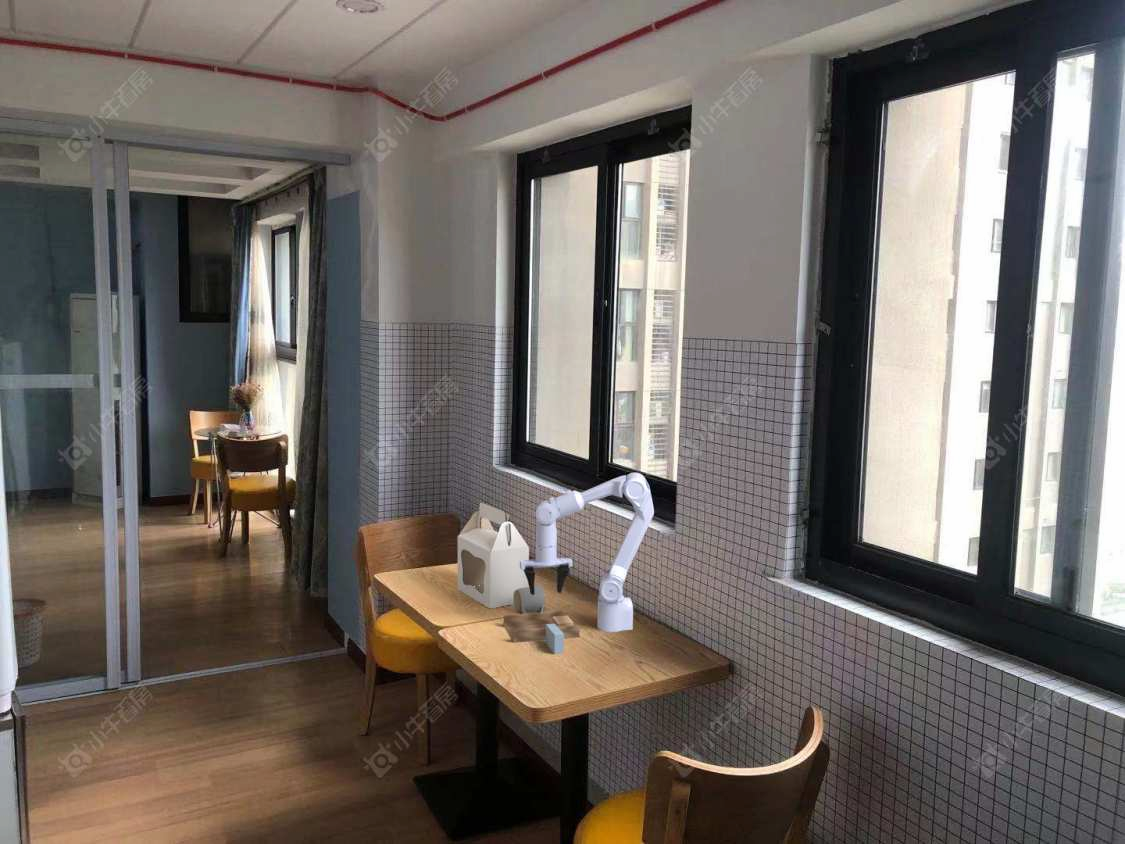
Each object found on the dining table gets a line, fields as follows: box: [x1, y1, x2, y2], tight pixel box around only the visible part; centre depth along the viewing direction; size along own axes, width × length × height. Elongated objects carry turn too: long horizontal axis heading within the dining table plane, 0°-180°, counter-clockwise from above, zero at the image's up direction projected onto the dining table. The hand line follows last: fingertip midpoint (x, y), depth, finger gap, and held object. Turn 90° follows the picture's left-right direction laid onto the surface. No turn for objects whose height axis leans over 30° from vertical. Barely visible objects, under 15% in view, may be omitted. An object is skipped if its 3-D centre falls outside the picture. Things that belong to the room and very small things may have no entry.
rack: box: [503, 610, 581, 644], centre depth 248 cm, size 18×13×4 cm
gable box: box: [457, 501, 530, 609], centre depth 279 cm, size 22×13×28 cm, turn 33°
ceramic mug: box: [513, 584, 547, 614], centre depth 264 cm, size 11×8×8 cm
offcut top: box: [552, 615, 574, 627], centre depth 249 cm, size 4×6×2 cm
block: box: [545, 624, 565, 655], centre depth 235 cm, size 2×8×6 cm, turn 18°
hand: (545, 592), depth 252 cm, fingers open, 7 cm apart
